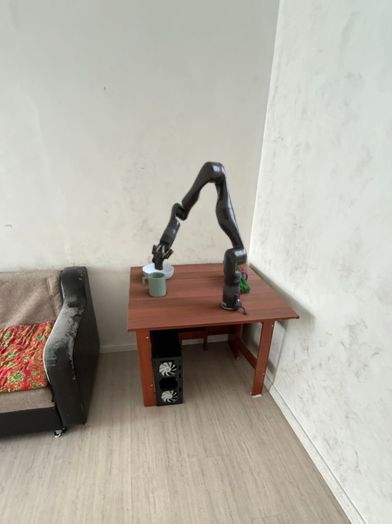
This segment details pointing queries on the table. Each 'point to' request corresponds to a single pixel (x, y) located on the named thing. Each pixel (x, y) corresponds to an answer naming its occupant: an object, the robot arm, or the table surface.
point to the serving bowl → (166, 270)
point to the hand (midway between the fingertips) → (156, 263)
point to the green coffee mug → (156, 284)
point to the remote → (157, 260)
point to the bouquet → (243, 278)
